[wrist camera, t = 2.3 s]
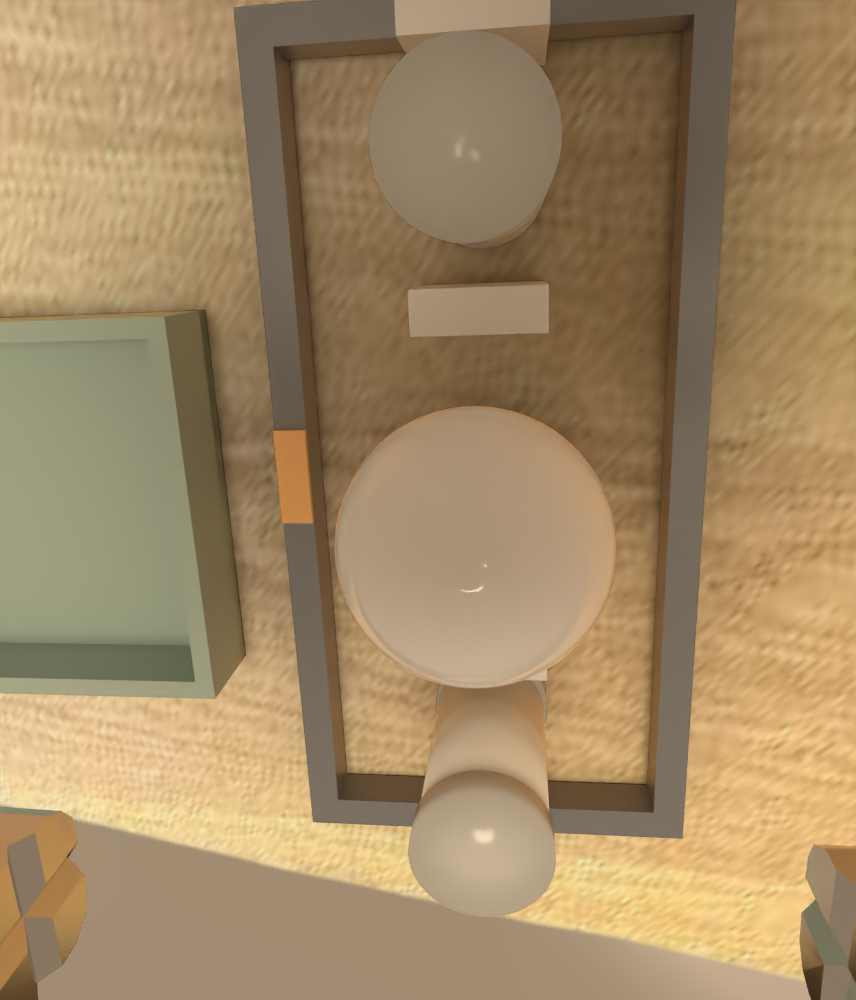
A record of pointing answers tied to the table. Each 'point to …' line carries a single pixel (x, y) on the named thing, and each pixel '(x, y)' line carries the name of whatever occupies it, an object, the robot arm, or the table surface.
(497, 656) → the lightbulb
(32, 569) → the tray
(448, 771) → the cylinder
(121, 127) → the table surface
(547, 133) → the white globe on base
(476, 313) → the rail
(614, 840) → the table surface
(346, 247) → the table surface
